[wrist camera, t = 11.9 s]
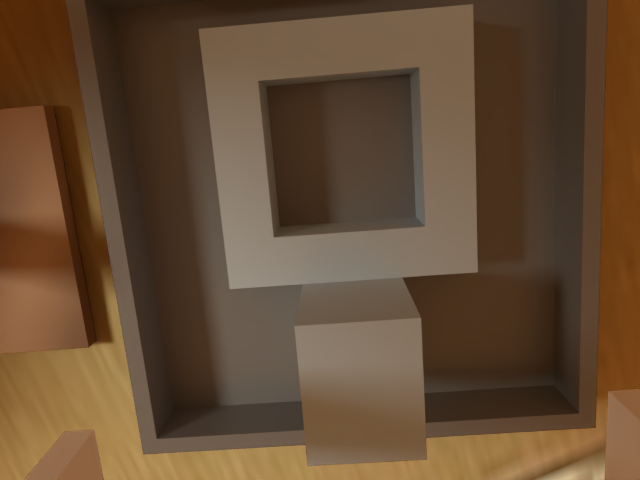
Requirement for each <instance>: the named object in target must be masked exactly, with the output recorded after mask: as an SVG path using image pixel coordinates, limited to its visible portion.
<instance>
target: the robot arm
mask: <svg viewBox="0 0 640 480" xmlns="http://www.w3.org/2000/svg"><path fill="white" fill-rule="evenodd" d="M24 480H104V478H103V473H102V468H101V463H100V457H99V452H98V447H97V442H96V437H95V432H94V430H81V431H67V432H64V433H63V434H62V435H61V437H60V438H59V439H58V440H57V441H56V442H55V444H54V445H53V446H52V447H51V448H50V450H49V451H48V452H47V453H46V454H45V456H44V457H43V458H42V459H41V460H40V461H39V463H38V464H37V465H36V466H35V467H34V469H33V470H32V471H31V472H30V473H29V474H28V476H27V477H26V478H25V479H24ZM605 480H640V389H629V390H615V391H608V407H607V433H606V458H605Z"/></svg>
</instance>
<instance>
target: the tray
mask: <svg viewBox="0 0 640 480" xmlns="http://www.w3.org/2000/svg"><path fill="white" fill-rule="evenodd" d="M65 1H66V7H67V13H68V19H69V25H70V30H71V36H72V42H73V48H74V54H75V60H76V65H77V71H78V77H79V83H80V89H81V94H82V100H83V106H84V112H85V118H86V124H87V129H88V135H89V141H90V147H91V153H92V158H93V164H94V170H95V176H96V182H97V188H98V193H99V199H100V205H101V211H102V217H103V222H104V228H105V234H106V240H107V246H108V252H109V257H110V263H111V269H112V275H113V281H114V287H115V292H116V298H117V304H118V310H119V316H120V321H121V327H122V333H123V339H124V345H125V351H126V356H127V362H128V368H129V374H130V380H131V385H132V391H133V397H134V403H135V409H136V415H137V420H138V426H139V432H140V438H141V444H142V449H143V454H159V453H176V452H193V451H210V450H227V449H244V448H260V447H277V446H294V445H306V444H305V434H304V423H303V412H302V402H301V391H300V381H299V370H298V359H297V349H296V338H295V328H294V325H295V321H296V316H297V311H298V306H299V301H300V296H301V292H302V287H303V284H298V285H283V286H269V287H254V288H239V289H230V288H229V279H228V271H227V262H226V254H225V246H224V237H223V229H222V221H221V212H220V204H219V196H218V187H217V179H216V171H215V162H214V154H213V145H212V137H211V129H210V120H209V112H208V104H207V95H206V87H205V79H204V70H203V62H202V53H201V45H200V37H199V29H204V28H215V27H226V26H237V25H248V24H259V23H270V22H281V21H292V20H303V19H314V18H325V17H336V16H347V15H358V14H369V13H381V12H392V11H403V10H414V9H425V8H436V7H447V6H458V5H469V4H473V29H474V86H475V144H476V201H477V259H478V272H474V273H459V274H444V275H430V276H415V277H402V278H403V280H404V282H405V284H406V287H407V289H408V291H409V293H410V295H411V297H412V299H413V302H414V304H415V306H416V308H417V310H418V312H419V314H420V317H421V327H422V352H423V376H424V400H425V424H426V438H430V437H447V436H464V435H481V434H498V433H514V432H531V431H548V430H565V429H582V428H596V396H597V359H598V323H599V286H600V250H601V214H602V177H603V141H604V105H605V68H606V32H607V0H65ZM266 87H267V98H268V108H269V118H270V129H271V139H272V150H273V160H274V170H275V181H276V191H277V201H278V212H279V222H280V227H283V226H297V225H311V224H324V223H338V222H352V221H365V220H379V219H393V218H406V217H416V206H415V182H414V158H413V134H412V110H411V86H410V74H406V75H394V76H383V77H371V78H359V79H347V80H336V81H324V82H312V83H300V84H289V85H277V86H266Z"/></svg>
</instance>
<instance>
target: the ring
mask: <svg viewBox="0 0 640 480" xmlns="http://www.w3.org/2000/svg"><path fill="white" fill-rule="evenodd" d="M199 37H200V45H201V53H202V62H203V70H204V79H205V87H206V95H207V104H208V112H209V120H210V129H211V137H212V145H213V154H214V162H215V171H216V179H217V187H218V196H219V204H220V212H221V221H222V229H223V237H224V246H225V254H226V262H227V271H228V279H229V288H230V289H239V288H254V287H269V286H283V285H298V284H303V287H302V292H301V296H300V301H299V306H298V311H297V316H296V321H295V325H294V328H295V338H296V349H297V359H298V370H299V381H300V391H301V402H302V412H303V423H304V434H305V444H306V455H307V465H308V466H316V465H335V464H354V463H373V462H392V461H411V460H427V448H426V424H425V400H424V376H423V352H422V327H421V317H420V314H419V312H418V310H417V308H416V306H415V304H414V302H413V299H412V297H411V295H410V293H409V291H408V289H407V287H406V284H405V282H404V280H403V278H402V277H415V276H430V275H444V274H459V273H474V272H478V259H477V201H476V144H475V86H474V29H473V4H469V5H458V6H447V7H436V8H425V9H414V10H403V11H392V12H381V13H369V14H358V15H347V16H336V17H325V18H314V19H303V20H292V21H281V22H270V23H259V24H248V25H237V26H226V27H215V28H204V29H199ZM406 74H410V86H411V110H412V134H413V158H414V182H415V206H416V217H406V218H393V219H379V220H365V221H352V222H338V223H324V224H311V225H297V226H283V227H280V222H279V212H278V201H277V191H276V181H275V170H274V160H273V150H272V139H271V129H270V118H269V108H268V98H267V87H266V86H277V85H289V84H300V83H312V82H324V81H336V80H347V79H359V78H371V77H383V76H394V75H406Z"/></svg>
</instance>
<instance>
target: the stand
mask: <svg viewBox="0 0 640 480" xmlns="http://www.w3.org/2000/svg"><path fill="white" fill-rule="evenodd" d="M94 342H96V336H95V330H94V325H93V320H92V314H91V309H90V303H89V298H88V292H87V287H86V281H85V276H84V270H83V265H82V260H81V254H80V249H79V243H78V238H77V232H76V227H75V221H74V216H73V210H72V205H71V200H70V194H69V189H68V183H67V178H66V172H65V167H64V161H63V156H62V150H61V145H60V140H59V134H58V129H57V123H56V118H55V112H54V107H53V106H47V105H40V106H29V107H18V108H7V109H0V354H2V353H16V352H31V351H45V350H60V349H75V348H89V347H90V346H91V345H92V344H93V343H94Z"/></svg>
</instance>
